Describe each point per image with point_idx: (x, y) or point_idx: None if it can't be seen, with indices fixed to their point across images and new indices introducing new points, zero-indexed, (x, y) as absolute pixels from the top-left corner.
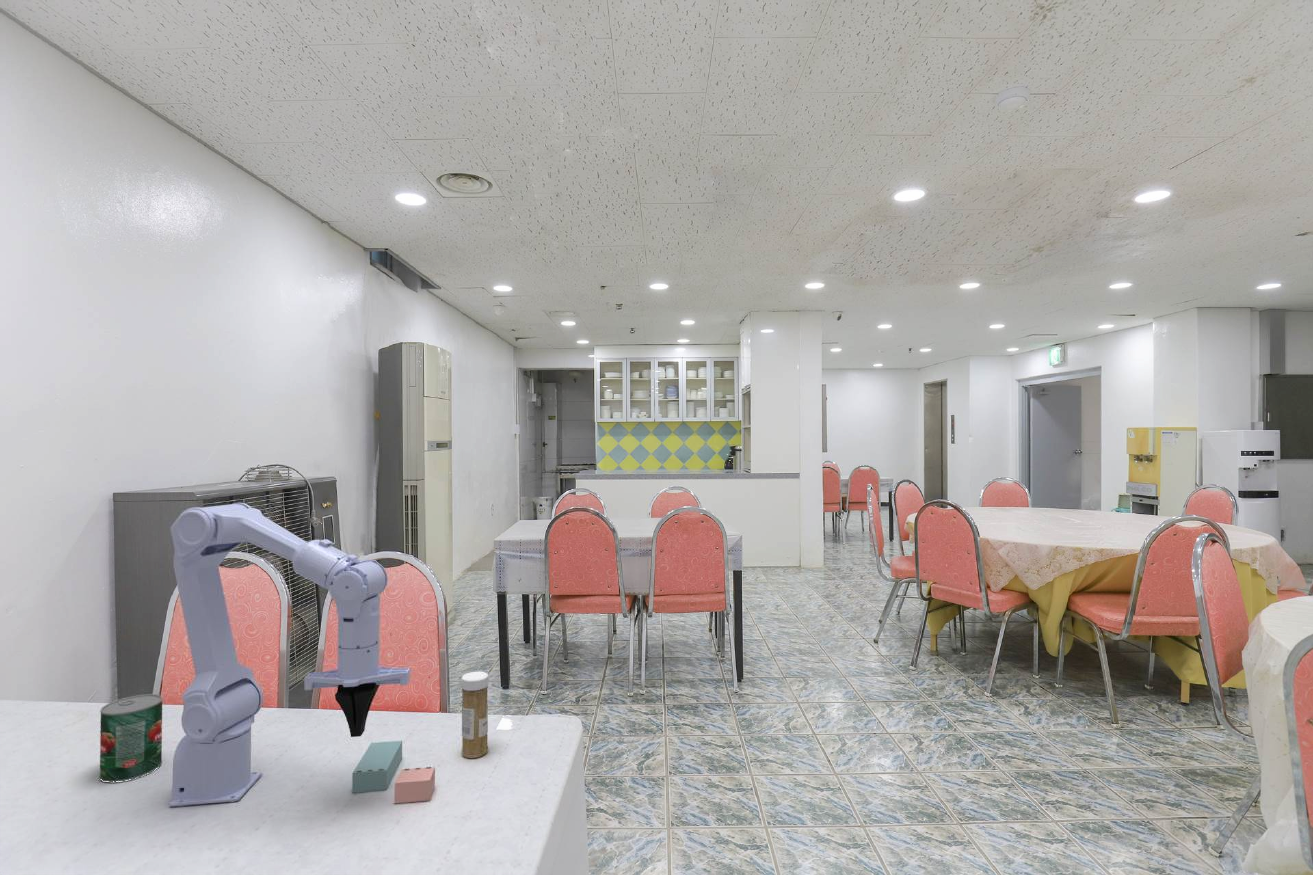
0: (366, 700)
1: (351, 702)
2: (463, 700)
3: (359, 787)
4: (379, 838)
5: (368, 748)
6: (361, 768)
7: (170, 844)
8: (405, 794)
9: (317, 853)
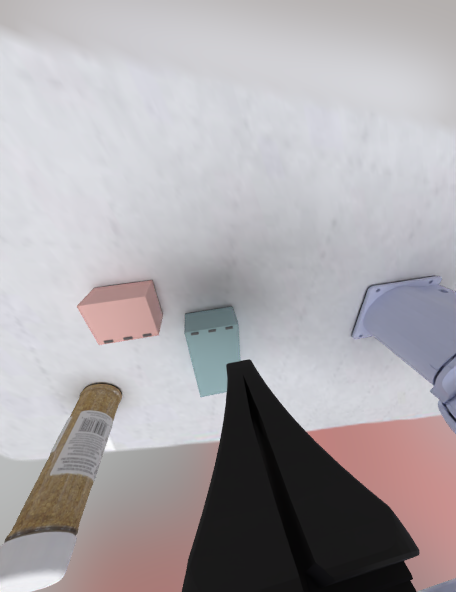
0: (210, 531)
1: (292, 496)
2: (73, 493)
3: (223, 311)
4: (119, 172)
5: None
6: (228, 335)
7: (435, 190)
8: (131, 288)
9: (217, 129)
